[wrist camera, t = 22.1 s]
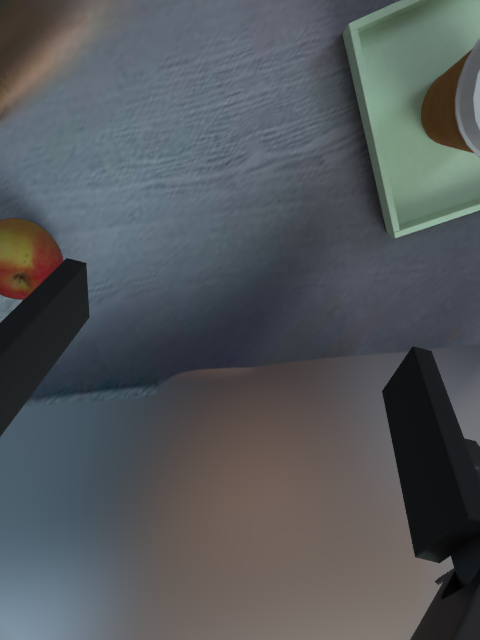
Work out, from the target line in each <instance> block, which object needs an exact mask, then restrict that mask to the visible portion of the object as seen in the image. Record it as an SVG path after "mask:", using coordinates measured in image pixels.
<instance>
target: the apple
mask: <svg viewBox="0 0 480 640" xmlns="http://www.w3.org/2000/svg"><path fill="white" fill-rule="evenodd" d="M62 262H63V256H62V253H61V251H60V248H59V246H58V245H57V243H56V242H55V240H54V239H53V238H52V237H51V235H50V234H49V233H48V232H47V231H46V230H44V229H43V228H42V227H41V226H39V225H38V224H36V223H33V222H30V221H27V220H24V219H17V218H7V219H2V220H0V294H1V295H3V296H5V297H8V298H13V299H20V300H24V299H25V298H26V297H27V296H28V295H29V294H31V293H32V292H33V291H34V290H35V289H36V288H37V287H38V286H39V285H40V284H41V283H42V282H43V281H44V280H45V279H46V278H47V277H48V276H49V275H50V274H51V273H52V272H53V271H54V270H55V269H56V268H57V267H58V266H59V265H60V264H61V263H62Z"/></svg>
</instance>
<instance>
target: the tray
mask: <svg viewBox="0 0 480 640" xmlns="http://www.w3.org/2000/svg"><path fill="white" fill-rule="evenodd" d="M343 39H344V43H345V48H346V52H347V56H348V61H349V65H350V70H351V74H352V79H353V83H354V88H355V92H356V97H357V101H358V106H359V110H360V115H361V119H362V124H363V128H364V133H365V137H366V141H367V146H368V150H369V155H370V159H371V164H372V168H373V173H374V177H375V182H376V186H377V191H378V195H379V200H380V204H381V209H382V213H383V218H384V222H385V226H386V231H387V233H388V234H389V235H391V236H393V237H394V238H397V237H400V236H403V235H406V234H409V233H412V232H415V231H418V230H421V229H424V228H427V227H430V226H433V225H436V224H439V223H442V222H445V221H448V220H451V219H454V218H457V217H460V216H463V215H466V214H469V213H472V212H475V211H478V210H480V158H479V157H478V156H477V155H476V154H474V153H471V152H467V151H463V150H459V149H455V148H452V147H448V146H444V145H441V144H438V143H435V142H434V141H433V140H431V139H430V138H429V137H428V135H427V134H426V132H425V130H424V128H423V126H422V121H421V108H422V104H423V100H424V98H425V95H426V93H427V91H428V89H429V88H430V87H431V85H432V84H433V83H434V82H435V80H436V79H437V78H438V77H440V76H441V75H442V74H444V73H445V72H446V71H447V70H448V69H449V68H450V67H452V66H453V65H454V64H455V63H456V62H458V61H459V60H460V59H461V58H462V57H463V56H465V55H466V54H467V53H468V52H469V51H470V50H472V49H473V48H474V46H475V44H476V43H477V41H478V40H479V39H480V0H400V1H398V2H395V3H393V4H391V5H389V6H386V7H384V8H382V9H380V10H377V11H375V12H373V13H371V14H369V15H366V16H364V17H362V18H360V19H357V20H355V21H353V22H351V23H349V24H348V25H347V27H346V29H345V30H344V32H343Z"/></svg>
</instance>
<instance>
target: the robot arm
mask: <svg viewBox="0 0 480 640" xmlns="http://www.w3.org/2000/svg"><path fill="white" fill-rule="evenodd" d="M88 318H89V303H88V286H87V269H86V263H84V262H80V261H76V260H72V259H68V258H67V259H66V260H64V261H63V262H62V263H61V264H60V265H59V266H58V267H57V268H56V269H55V270H54V271H53V272H52V273H51V274H50V275H49V276H48V277H47V278H46V279H45V280H44V281H43V282H42V283H41V284H40V285H39V286H38V287H37V288H36V289H35V290H34V291H33V292H32V293H31V294H29V295H28V296H27V297H26V298H25V299H24V300H23V301H22V302H21V303H20V304H19V305H18V306H17V307H16V308H15V309H14V310H13V311H12V312H11V313H10V314H9V315H8V316H7V317H6V318H5V319H4V320H3V321H2V322H1V323H0V436H1V435H2V434H3V432H4V431H5V429H6V428H7V427H8V426H9V424H10V423H11V421H12V420H13V419H14V418H15V416H16V415H17V414H18V412H19V411H20V410H21V408H22V407H23V405H24V404H25V403H26V401H27V400H28V399H29V397H30V396H31V395H32V393H33V392H34V391H35V389H36V388H37V387H38V385H39V384H40V383H41V381H42V380H43V379H44V377H45V376H46V375H47V373H48V372H49V371H50V369H51V368H52V367H53V365H54V364H55V363H56V361H57V360H58V359H59V357H60V356H61V355H62V353H63V352H64V351H65V349H66V348H67V347H68V345H69V344H70V343H71V341H72V340H73V338H74V337H75V336H76V334H77V333H78V332H79V330H80V329H81V328H82V326H83V325H84V324H85V322H86V321H87V320H88ZM382 393H383V398H384V403H385V408H386V413H387V418H388V423H389V428H390V433H391V438H392V443H393V448H394V453H395V458H396V463H397V468H398V473H399V478H400V483H401V488H402V493H403V498H404V503H405V508H406V514H407V518H408V523H409V528H410V534H411V538H412V544H413V549H414V554H415V557H417V558H421V559H425V560H429V561H433V562H437V563H440V562H442V561H443V560H445V559H446V558H448V557H449V556H451V558H452V562H453V565H454V569H452V570H450V571H449V572H447V573H446V574H444V575H443V576H441V577H440V578H438V579H437V580H436V581H435V582H436V583H437V584H438V585H439V584H440V583H442V582H443V583H442V585H441V587H440V589H439V591H438V592H437V594H436V596H435V597H434V599H433V601H432V603H431V604H430V606H429V608H428V610H427V611H426V613H425V615H424V617H423V619H422V620H421V622H420V624H419V626H418V627H417V629H416V631H415V632H414V634H413V636H412V638H411V640H480V446H479V445H478V444H477V443H476V441H472V440H468V439H464V437H463V434H462V431H461V429H460V426H459V424H458V421H457V418H456V415H455V413H454V410H453V407H452V405H451V402H450V399H449V397H448V394H447V391H446V389H445V386H444V383H443V381H442V378H441V375H440V373H439V370H438V368H437V365H436V362H435V359H434V357H433V354H432V351H429V350H425V349H421V348H417V347H414V346H413V347H412V348H411V350H410V351H409V352H408V354H407V355H406V357H405V358H404V360H403V361H402V363H401V364H400V366H399V367H398V369H397V370H396V372H395V373H394V375H393V376H392V377H391V379H390V381H389V382H388V383H387V385H386V387H385V388H384V389H383V391H382Z"/></svg>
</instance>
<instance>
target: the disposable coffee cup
mask: <svg viewBox="0 0 480 640" xmlns="http://www.w3.org/2000/svg"><path fill="white" fill-rule="evenodd" d="M421 121H422V126H423V128H424V130H425V132H426V134H427V135H428V137H429V138H430V139H431V140H433V141H434V142H435V143H438V144H441V145H444V146H448V147H452V148H455V149H459V150H463V151H467V152H471V153H474V154H476V155H477V156H478V157H479V158H480V39H479V40H478V41H477V43H476V44H475V46H474V48H473V49H472V50H470V51H469V52H468V53H467V54H466V55H465V56H463V57H462V58H461V59H460V60H459V61H458V62H456V63H455V64H454V65H453V66H452V67H450V68H449V69H448V70H447V71H446V72H445V73H444V74H442V75H441V76H440V77H438V78H437V79H436V80H435V82H434V83H433V84H432V85H431V87H430V88H429V89H428V91H427V93H426V95H425V98H424V100H423V104H422V108H421Z"/></svg>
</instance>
